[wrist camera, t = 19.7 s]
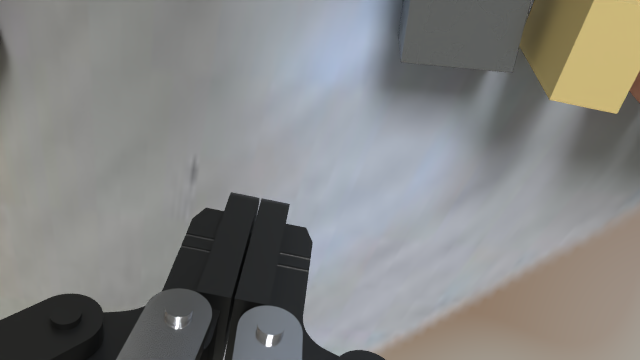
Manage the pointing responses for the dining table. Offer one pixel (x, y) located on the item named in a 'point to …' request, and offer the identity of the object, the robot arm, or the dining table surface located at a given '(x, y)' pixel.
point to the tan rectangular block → (584, 50)
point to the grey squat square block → (462, 33)
